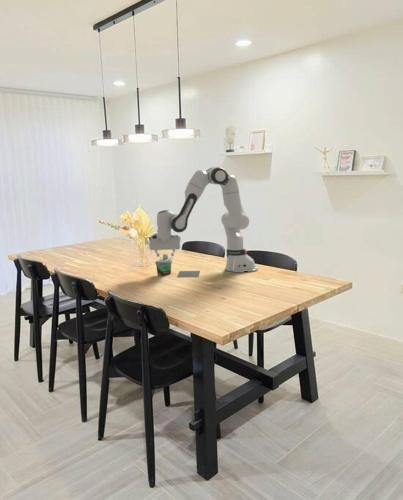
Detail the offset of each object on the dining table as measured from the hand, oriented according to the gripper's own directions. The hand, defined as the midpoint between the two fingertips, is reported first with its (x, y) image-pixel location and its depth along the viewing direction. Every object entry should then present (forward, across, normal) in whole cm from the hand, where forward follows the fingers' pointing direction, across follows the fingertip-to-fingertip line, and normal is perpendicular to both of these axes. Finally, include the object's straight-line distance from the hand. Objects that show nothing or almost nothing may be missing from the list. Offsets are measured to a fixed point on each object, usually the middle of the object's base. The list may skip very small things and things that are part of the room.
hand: (165, 256), depth 259 cm
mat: (+13, -15, 0) cm, 20 cm away
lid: (+3, 0, 0) cm, 3 cm away
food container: (+13, 0, 0) cm, 13 cm away
